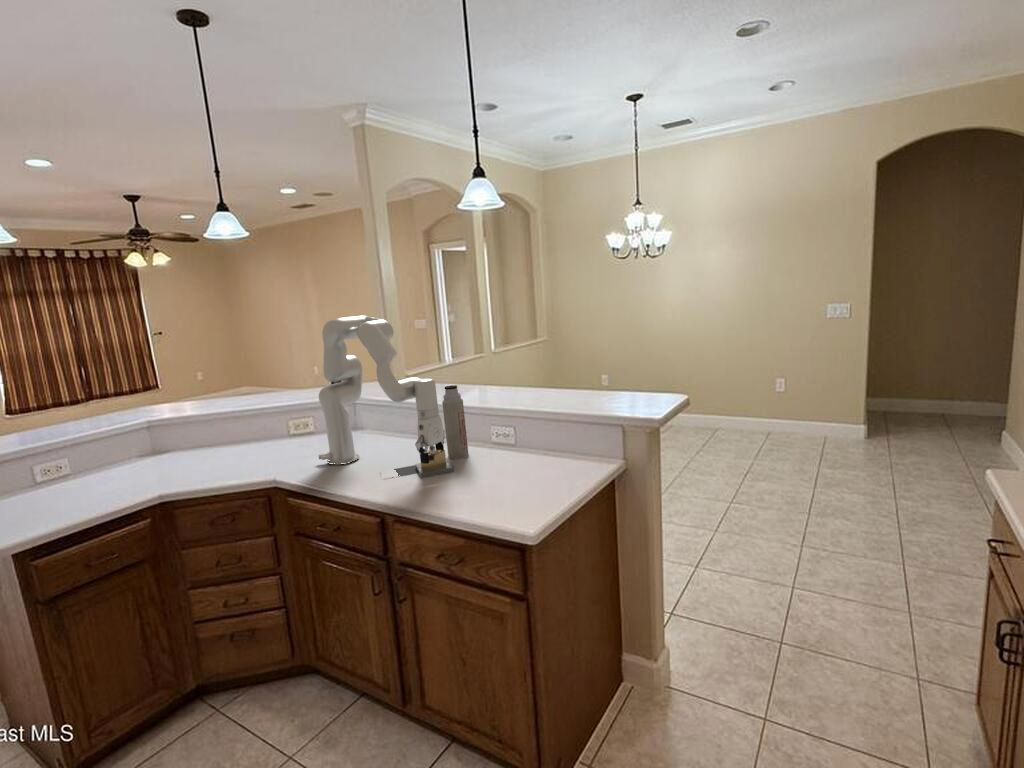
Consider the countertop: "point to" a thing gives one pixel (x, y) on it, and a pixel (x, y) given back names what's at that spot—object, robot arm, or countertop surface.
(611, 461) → the countertop surface
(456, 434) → the thermos bottle
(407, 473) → the mat
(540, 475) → the countertop surface
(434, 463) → the collar
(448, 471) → the grey peg stand
